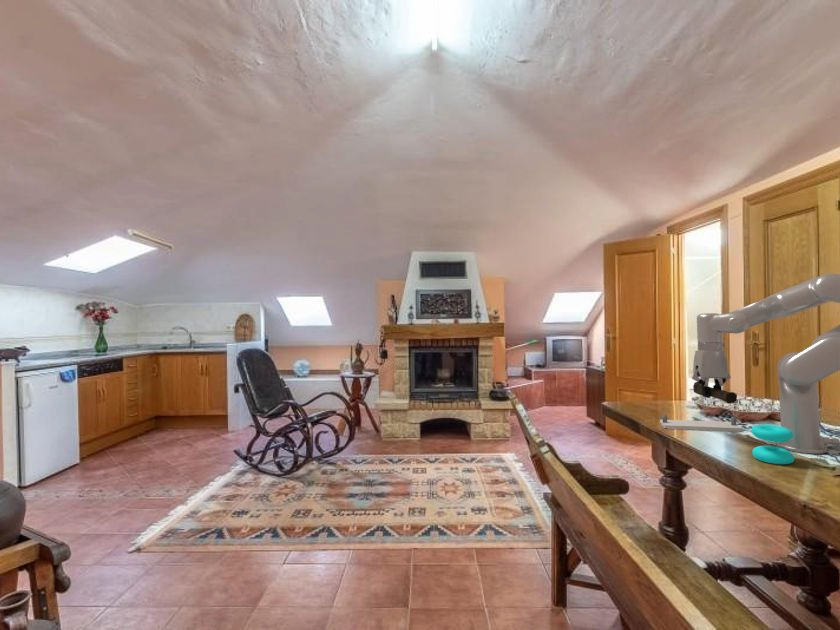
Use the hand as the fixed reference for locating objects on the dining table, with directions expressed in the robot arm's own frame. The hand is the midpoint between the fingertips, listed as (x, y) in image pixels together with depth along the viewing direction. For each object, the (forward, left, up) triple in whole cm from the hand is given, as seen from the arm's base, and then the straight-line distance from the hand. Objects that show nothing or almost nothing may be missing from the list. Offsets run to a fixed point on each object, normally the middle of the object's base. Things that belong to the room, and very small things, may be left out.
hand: (711, 396), depth 151 cm
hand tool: (+1, 0, -1) cm, 1 cm away
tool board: (+1, -14, -15) cm, 21 cm away
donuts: (-9, +21, -16) cm, 28 cm away
